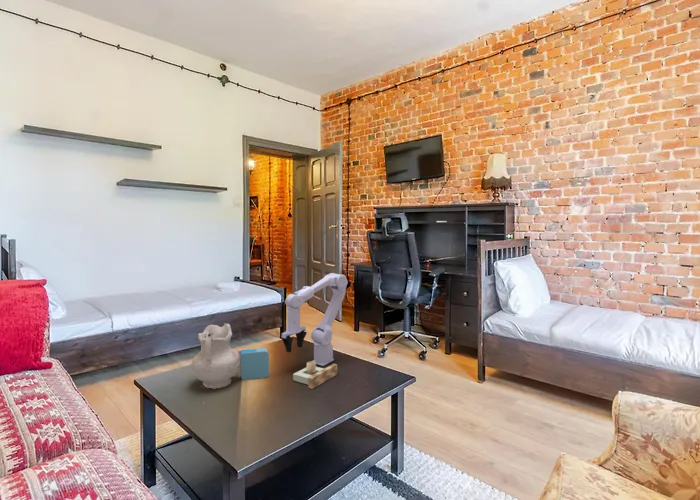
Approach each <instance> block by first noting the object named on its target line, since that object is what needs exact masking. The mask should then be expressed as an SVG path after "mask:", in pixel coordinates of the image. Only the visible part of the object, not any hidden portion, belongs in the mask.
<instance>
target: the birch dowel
mask: <svg viewBox="0 0 700 500" xmlns="http://www.w3.org/2000/svg"><path fill="white" fill-rule="evenodd" d="M306 367H307V374H309V375H314V374H315V373H316V367H317V364H316V362H314V361H313V360H310V361H307V362H306Z"/></svg>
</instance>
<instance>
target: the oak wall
mask: <svg viewBox="0 0 700 500" xmlns="http://www.w3.org/2000/svg"><path fill="white" fill-rule="evenodd" d="M335 376H338V364H336V363H332V364H331V365H328V366H327V367H325V368H324V369H323V370H321V371H319V372H317V373H315V374H314V375H312V376H310V377H308V387H307V388H308V389H311V390H314V388H316V387H319V386H320V385H321V384H324V383H326V381H328V380H329V381H330V380H331V379H333V378H334V377H335Z"/></svg>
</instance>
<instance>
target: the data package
mask: <svg viewBox="0 0 700 500" xmlns="http://www.w3.org/2000/svg"><path fill="white" fill-rule="evenodd" d="M239 356H240V378H241V380H243V381H247V380H256V379H266V378H268V377H269V375H270V354H269V349H267V347H262V348H252V349H251V348H249V349H242V350H241V351H240V353H239Z"/></svg>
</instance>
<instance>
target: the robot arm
mask: <svg viewBox="0 0 700 500" xmlns="http://www.w3.org/2000/svg"><path fill="white" fill-rule="evenodd" d="M348 284H349V281H348V279H347V277H346V275H344V274H339V273H335V272H330V273H328V274H326V275H324V277H323V278H322V279H320V280H318V281H317V282H315V283H314V284H312V285H310V286H309V285H307V286H305V285H304V286H303V287H302V288H301V289H300V290H297V291H294V293H289V294H288V295H287V296H286V298H285V300H284V304H285V305H286V306H287V307H286V308H287V328H286V330H285V331H284V332H282V333H281V337H280V338H281V340H282V342H283V344H284V347H285V350H286V352H287V353H291V352H292V346H293V345H292V344H293V340H294V338H293V337H291V336H292V335H295V337H296V345H297V346H296V347H297V348H302V347H303V344H304V340H305V338H306V335H307V329H306V328H307V327H306V326H303V325H302V326H301V307H302V305H303V303H305V302H307V301H308V300H310V299H311V298H313V297H314V295H315V293H317V292H319V291H321V290H323V289H325V288H326V287H329V288H330V289H331V290H332V293H333V295H332V297H331V300H330V301H329V302H328V303H329V304H328V306H327V308H326V310H325V313H324V314H323V317H322V319H321V322H320V323H318V324H317V325H316V326H315V328H314V329H313V330H312V332H311V334H310V338H311V340H312V341H313V360H312V361H314V362H316V366H317V365H319V366H322V367H324V366H325V365H327V364H329V363H331V362H333V361H335V358H334V352H333V351H334V348H333V345H332V343H331V342H332V339H333V333H334V331H333V328H332V326H333V324H334V322H335V320H336V317H337V315H338V312H339V310H340V309H341V306H342V303H343V300H344V298H345V296H346V290H347V285H348Z"/></svg>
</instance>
